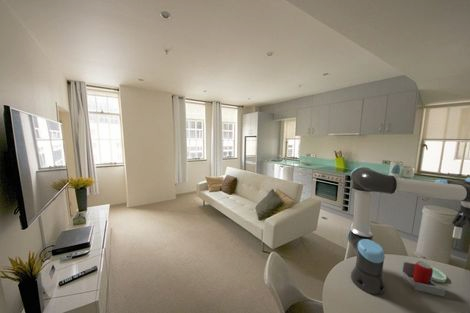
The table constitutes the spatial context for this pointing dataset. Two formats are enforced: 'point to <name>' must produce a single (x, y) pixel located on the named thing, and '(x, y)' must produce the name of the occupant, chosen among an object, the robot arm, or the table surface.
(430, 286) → the bay
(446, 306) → the table surface
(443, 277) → the tray
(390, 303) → the table surface
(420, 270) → the beverage can
